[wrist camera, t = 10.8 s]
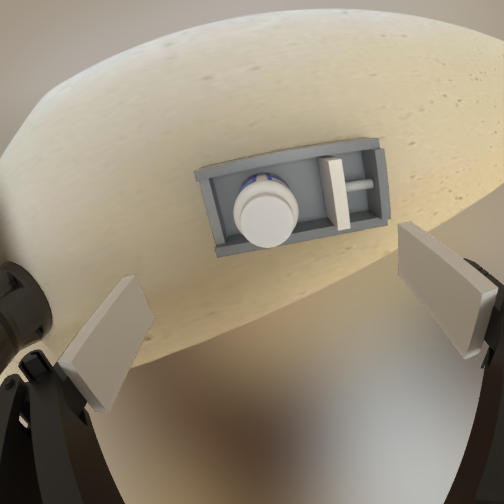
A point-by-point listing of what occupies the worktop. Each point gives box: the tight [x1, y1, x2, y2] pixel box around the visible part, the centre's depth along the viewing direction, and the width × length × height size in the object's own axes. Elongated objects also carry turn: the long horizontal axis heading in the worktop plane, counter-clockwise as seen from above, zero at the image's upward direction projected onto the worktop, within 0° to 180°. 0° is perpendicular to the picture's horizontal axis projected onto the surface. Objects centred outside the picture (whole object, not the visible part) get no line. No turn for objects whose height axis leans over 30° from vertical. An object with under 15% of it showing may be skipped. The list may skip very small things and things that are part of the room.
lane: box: [194, 137, 391, 258], centre depth 28 cm, size 18×9×5 cm, turn 102°
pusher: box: [317, 155, 373, 231], centre depth 26 cm, size 5×6×5 cm
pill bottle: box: [233, 172, 299, 248], centre depth 25 cm, size 5×5×10 cm
